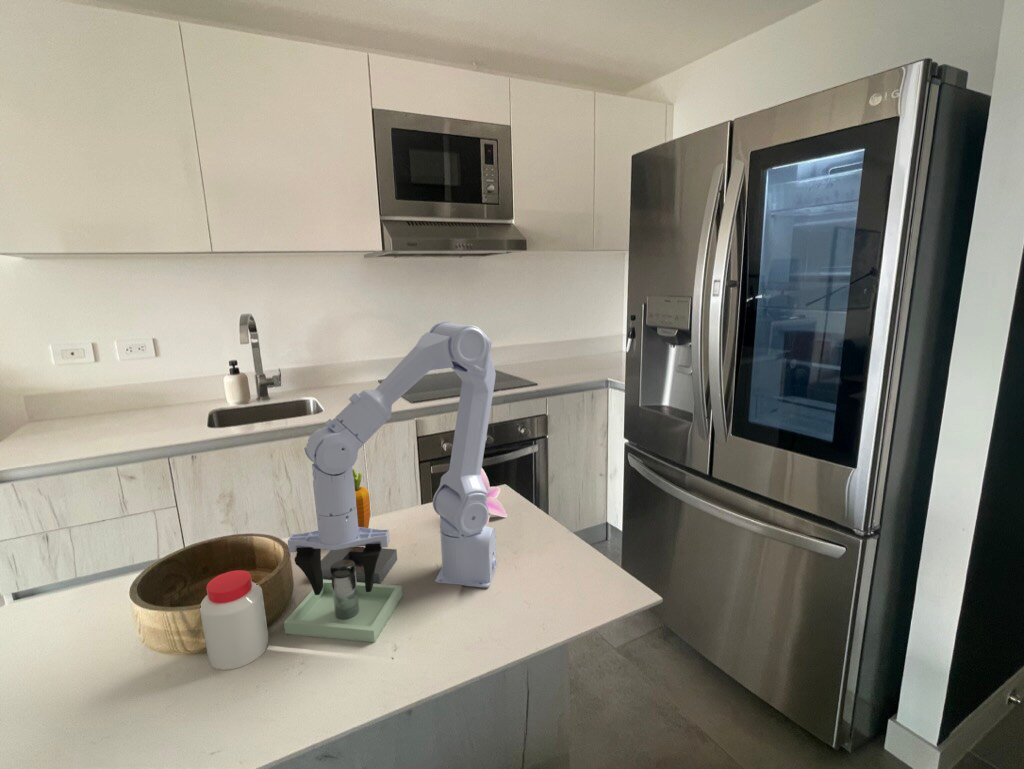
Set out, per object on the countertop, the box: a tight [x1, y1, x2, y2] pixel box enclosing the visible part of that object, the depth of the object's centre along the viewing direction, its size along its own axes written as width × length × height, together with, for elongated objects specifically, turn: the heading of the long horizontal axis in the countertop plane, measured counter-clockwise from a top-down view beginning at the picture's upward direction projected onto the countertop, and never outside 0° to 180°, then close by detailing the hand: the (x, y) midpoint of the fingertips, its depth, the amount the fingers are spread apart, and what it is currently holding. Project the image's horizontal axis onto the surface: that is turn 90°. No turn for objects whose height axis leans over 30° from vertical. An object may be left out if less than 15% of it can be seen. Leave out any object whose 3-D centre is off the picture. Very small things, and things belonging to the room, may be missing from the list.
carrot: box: [352, 468, 371, 528], centre depth 102 cm, size 5×5×15 cm
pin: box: [330, 560, 359, 620], centre depth 81 cm, size 4×4×8 cm
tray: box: [283, 579, 403, 644], centre depth 81 cm, size 14×11×2 cm
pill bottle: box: [199, 569, 270, 671], centre depth 74 cm, size 8×8×11 cm
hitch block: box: [321, 546, 398, 584], centre depth 93 cm, size 12×8×3 cm, turn 81°
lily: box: [480, 467, 508, 525], centre depth 113 cm, size 12×12×10 cm
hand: (344, 589), depth 81 cm, fingers open, 7 cm apart
